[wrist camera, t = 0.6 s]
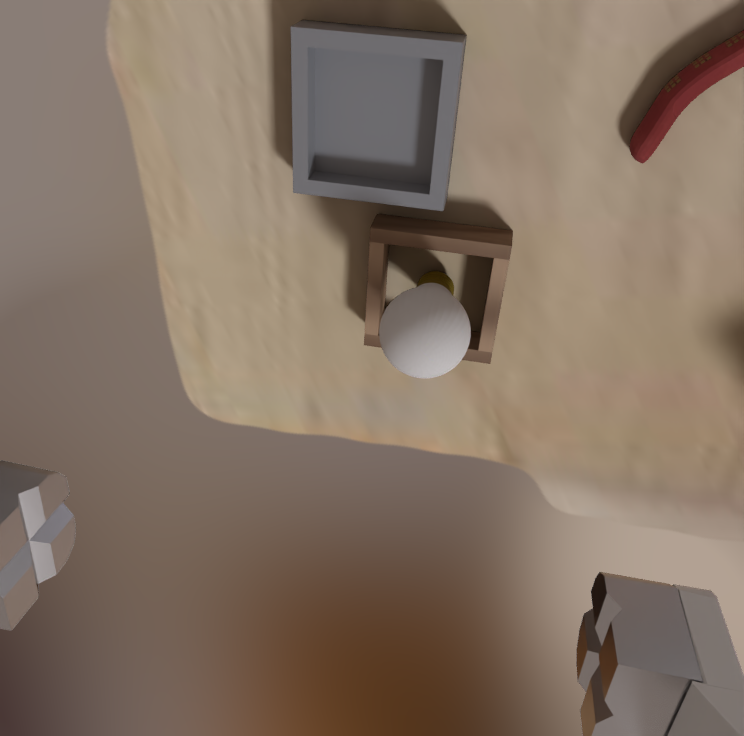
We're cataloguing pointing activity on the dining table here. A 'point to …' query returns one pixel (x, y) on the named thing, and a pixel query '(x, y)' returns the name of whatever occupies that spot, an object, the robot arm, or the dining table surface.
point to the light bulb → (425, 328)
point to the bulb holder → (438, 239)
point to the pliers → (685, 93)
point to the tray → (374, 112)
